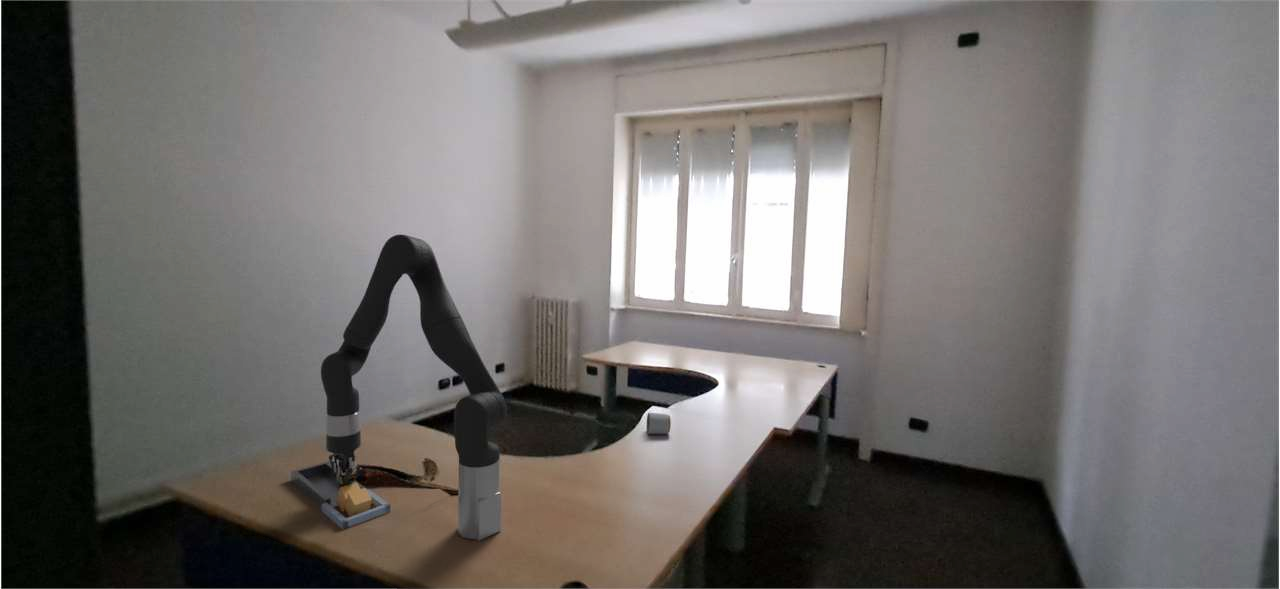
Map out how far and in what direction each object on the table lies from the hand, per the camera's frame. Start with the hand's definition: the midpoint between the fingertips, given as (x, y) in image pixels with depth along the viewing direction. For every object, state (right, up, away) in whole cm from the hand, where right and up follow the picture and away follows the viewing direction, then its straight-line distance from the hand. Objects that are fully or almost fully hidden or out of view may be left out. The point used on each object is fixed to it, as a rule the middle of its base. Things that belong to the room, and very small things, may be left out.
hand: (344, 496), depth 134 cm
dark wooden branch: (+10, -2, +19) cm, 21 cm away
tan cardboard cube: (+2, -2, -2) cm, 3 cm away
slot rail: (-9, -2, +7) cm, 11 cm away
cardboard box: (+5, -2, -4) cm, 7 cm away
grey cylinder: (+81, 0, +63) cm, 102 cm away
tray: (+5, -4, -4) cm, 7 cm away
